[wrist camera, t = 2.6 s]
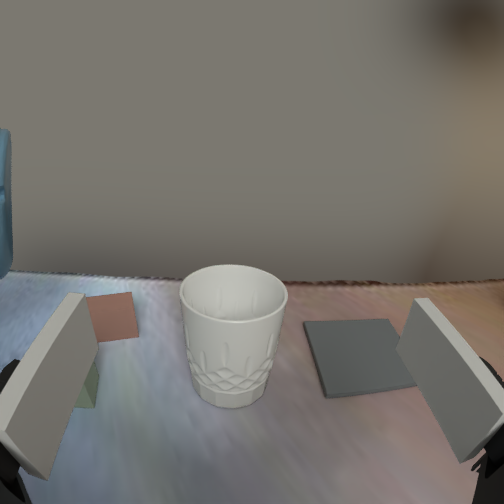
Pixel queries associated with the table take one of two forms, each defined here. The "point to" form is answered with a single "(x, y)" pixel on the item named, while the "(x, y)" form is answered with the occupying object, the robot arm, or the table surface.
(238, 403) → the white cup
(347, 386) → the slate coaster
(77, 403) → the sage block
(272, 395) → the table surface
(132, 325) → the brick-red long block
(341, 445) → the table surface
